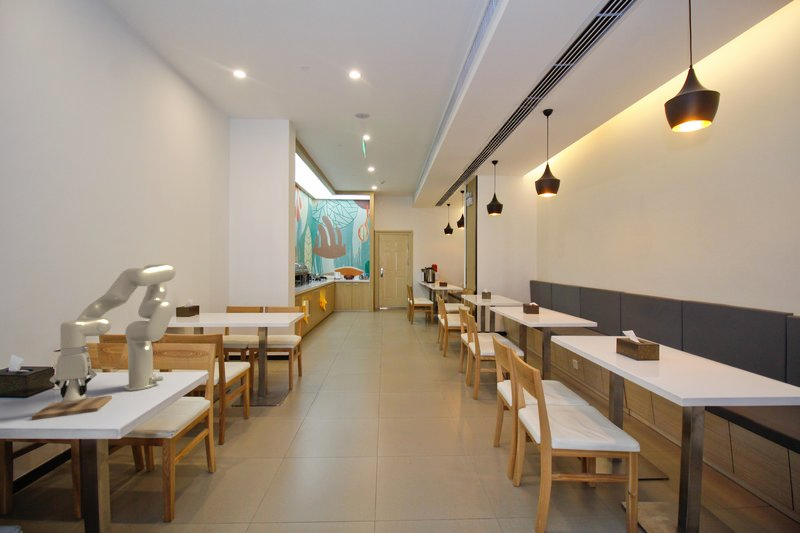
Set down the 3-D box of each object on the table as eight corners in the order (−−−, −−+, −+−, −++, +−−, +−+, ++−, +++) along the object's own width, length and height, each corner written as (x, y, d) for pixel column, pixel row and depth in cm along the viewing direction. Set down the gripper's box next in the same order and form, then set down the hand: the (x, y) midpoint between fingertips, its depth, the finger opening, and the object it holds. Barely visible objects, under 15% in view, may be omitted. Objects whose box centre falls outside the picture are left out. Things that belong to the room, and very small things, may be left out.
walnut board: (111, 398, 153) (111, 395, 153) (97, 411, 140) (97, 407, 139) (52, 406, 145) (52, 402, 145) (31, 420, 132) (31, 416, 132)
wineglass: (53, 391, 163) (52, 353, 163) (48, 388, 168) (47, 351, 168) (76, 386, 170) (75, 349, 170) (70, 383, 175) (69, 347, 175)
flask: (70, 404, 138) (70, 378, 138) (56, 402, 139) (56, 377, 139) (90, 397, 145) (90, 373, 145) (76, 396, 146) (76, 372, 147)
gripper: (103, 347, 149) (103, 389, 149) (51, 351, 143) (52, 395, 143) (95, 351, 142) (95, 395, 142) (40, 355, 136) (41, 402, 136)
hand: (73, 395), depth 142 cm, fingers closed on flask, 5 cm apart
